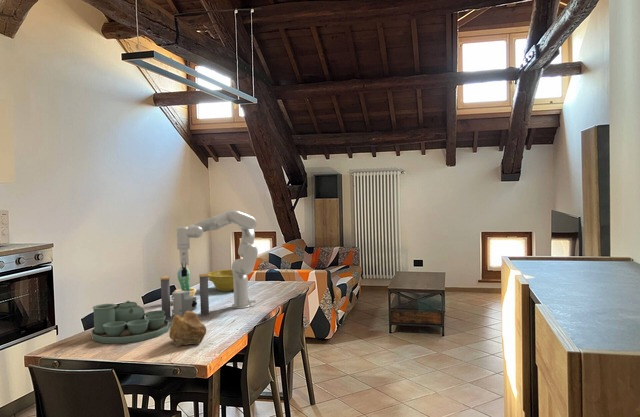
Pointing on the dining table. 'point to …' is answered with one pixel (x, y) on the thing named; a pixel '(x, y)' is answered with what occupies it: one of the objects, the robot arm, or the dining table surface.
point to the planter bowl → (222, 279)
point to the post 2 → (204, 294)
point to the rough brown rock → (187, 329)
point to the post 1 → (165, 296)
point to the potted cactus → (185, 282)
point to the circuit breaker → (183, 303)
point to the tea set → (127, 323)
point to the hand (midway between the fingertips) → (184, 276)
